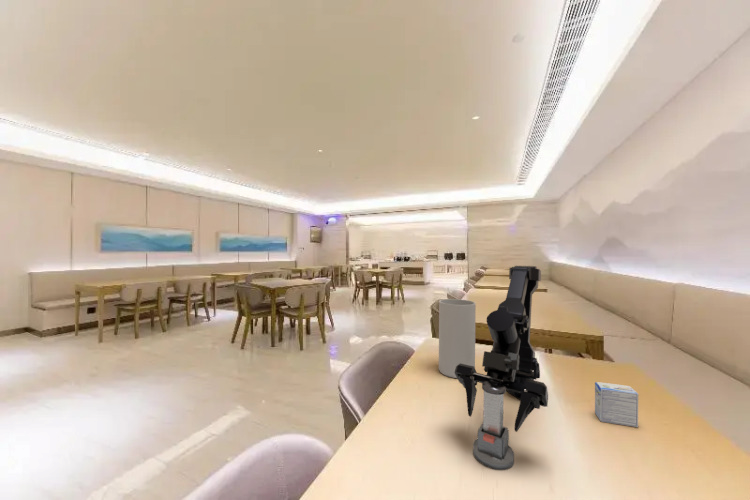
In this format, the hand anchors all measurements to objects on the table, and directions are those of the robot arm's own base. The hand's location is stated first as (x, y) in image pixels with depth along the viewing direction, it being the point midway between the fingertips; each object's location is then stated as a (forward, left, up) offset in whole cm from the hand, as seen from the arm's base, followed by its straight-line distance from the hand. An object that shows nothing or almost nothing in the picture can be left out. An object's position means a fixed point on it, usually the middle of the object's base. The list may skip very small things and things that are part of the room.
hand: (491, 422), depth 62 cm
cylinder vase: (-18, -42, -8) cm, 46 cm away
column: (-1, -1, -6) cm, 6 cm away
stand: (-1, -1, -8) cm, 8 cm away
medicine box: (-41, -4, -8) cm, 42 cm away
